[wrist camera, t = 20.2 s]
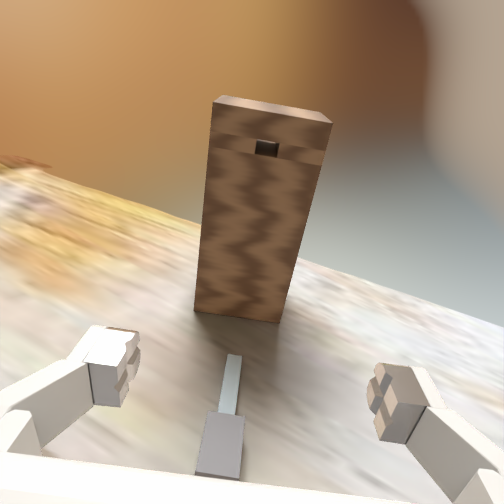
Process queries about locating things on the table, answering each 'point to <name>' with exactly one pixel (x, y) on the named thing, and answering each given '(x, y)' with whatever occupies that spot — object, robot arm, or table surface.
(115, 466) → the robot arm
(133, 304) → the table surface
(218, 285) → the post
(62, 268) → the table surface
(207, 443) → the grey stepped bar
